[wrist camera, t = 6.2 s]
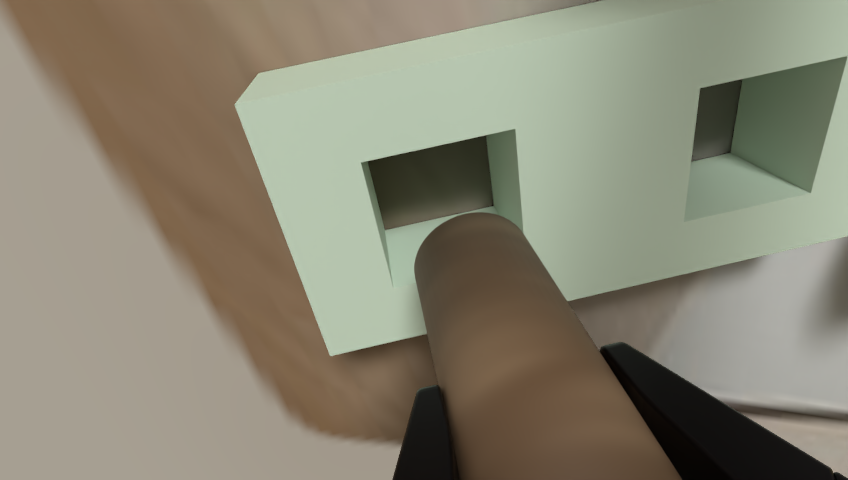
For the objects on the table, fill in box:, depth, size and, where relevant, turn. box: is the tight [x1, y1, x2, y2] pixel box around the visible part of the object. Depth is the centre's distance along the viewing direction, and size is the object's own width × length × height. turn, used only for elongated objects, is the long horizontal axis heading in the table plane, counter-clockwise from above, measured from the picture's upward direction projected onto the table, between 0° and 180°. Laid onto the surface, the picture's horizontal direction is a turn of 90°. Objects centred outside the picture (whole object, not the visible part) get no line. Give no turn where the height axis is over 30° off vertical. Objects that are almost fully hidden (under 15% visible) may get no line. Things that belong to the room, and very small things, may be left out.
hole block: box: [235, 0, 848, 356], centre depth 17 cm, size 20×9×4 cm, turn 100°
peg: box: [414, 212, 682, 480], centre depth 8 cm, size 3×3×10 cm
